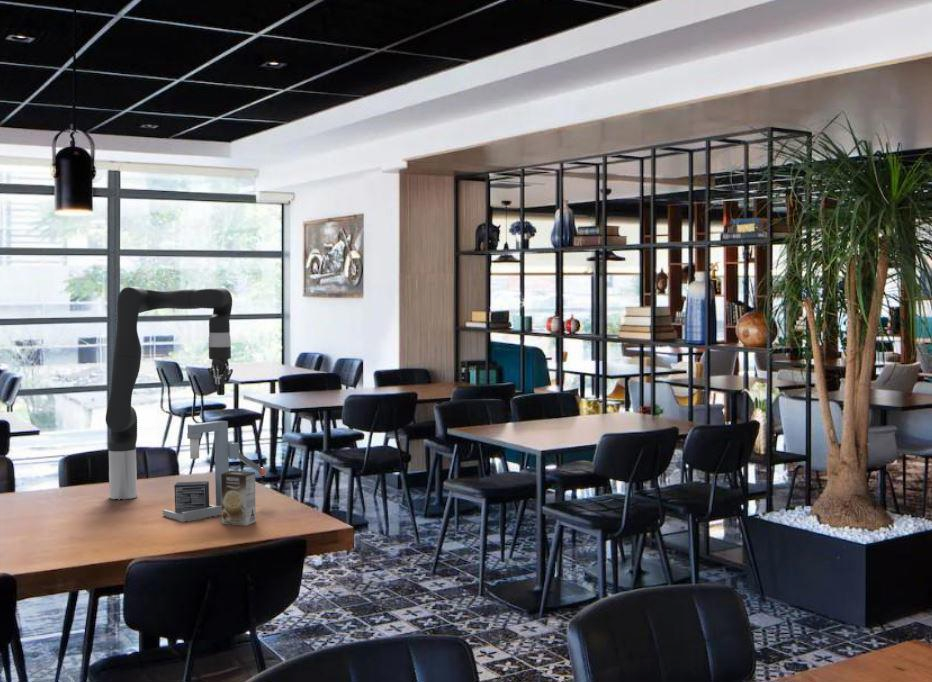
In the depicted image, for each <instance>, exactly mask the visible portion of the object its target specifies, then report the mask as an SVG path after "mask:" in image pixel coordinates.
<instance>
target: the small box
mask: <svg viewBox="0 0 932 682" xmlns="http://www.w3.org/2000/svg"><path fill="white" fill-rule="evenodd" d="M209 482H210V481H209V480H207V481H206V480H205V481H204V480H202V481H181V482H180V481H179V482H176V483H175V484H174V485H173V486H174V487H173V488H174V512H176V513H179V514H182V512H186V511H192V510H197V509H203V508H209V504H210V483H209Z"/></svg>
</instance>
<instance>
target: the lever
mask: <svg viewBox="0 0 932 682" xmlns="http://www.w3.org/2000/svg"><path fill="white" fill-rule="evenodd" d="M228 454H229V446H228ZM237 459H238V460H239V461H241V462H243V463H244V464H245V465H246V466H248V467H249V468H251V469H252V470H254V472H257V474H258V475H259V477H263V476H265V475H267V469H266V468H265V467H261V466H260V465H258V464H257V463H255V461H252V460H251V459H249V458H248V457H247V456H246V455H244V454H243V453H241V452H240V451H239V458H237Z"/></svg>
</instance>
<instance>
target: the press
mask: <svg viewBox="0 0 932 682" xmlns="http://www.w3.org/2000/svg"><path fill="white" fill-rule="evenodd" d="M211 432H213V433H214V435H213V436H214V464H215V465H214V473H215V476H214V477H215V505H213V504H210V503H209V508H203V509H197V510H192V511H186V512H182V514H179V513H176V512H175V511H172V510H169V509H162V516H163V515H164V516H167V517H166V518H168V517H170V518H169V519H171V518H173V519H172V520H174V519H177V520H176V521H178V520H180V521H179V522H181V521H183V522H182V523H186V522H185V521H188V522H192V521H191V520H193V521H197V520H196V519H198V520H202V519H201V518H204V519H207V518H206V517H209V518H212V517H211V516H214V517H218V516H217V515H220V516H222V490H221V474H223V473H225V472H228V471H230V468H229V467H230V463H229V461H230V460H231V459H232V460H233V459H238V458H239V452H240V443H239V442H232V441H229V421H227V420H218V421H216V420H215V421H208V422H199V423H190V424H187V433H186V435H187V436H186V437H187V439H188V440H189V454H190V456H189V458H190V460H195V459H200V439H201V438H202V434H203V433H211ZM228 446H229V454H228ZM164 516H163V517H164Z"/></svg>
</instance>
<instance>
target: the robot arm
mask: <svg viewBox="0 0 932 682" xmlns="http://www.w3.org/2000/svg"><path fill="white" fill-rule="evenodd" d="M116 306H117V310H116V311H117V312H116V313H117V314H116V315H117V316H116V317H117V318H116V319H117V320H116V321H117V322H116V333H115V334H116V335H115V342H114V343H115V344H114V351H113V359H112V370H111V371H112V372H111V384H110V385H111V387H110V394H109V395H110V396H109V399H108V405H107V410H106V413H105V424H106V426H107V427H108V428H109V429H110V438H109V441H108V482H109V484H108V485H109V489H108V491H109V499H110V498H111V500H115V499H118V501H119V500H120V499H123V500H131V499H134V498H137V497H138V477H137V476H138V475H137V474H138V473H137V471H138V470H137V440H138V415H137V412H136V409H135V408H134V406H132V397H133V391H134V388H135V386H136V382H137V380H138V376H139V373H140V370H141V369H140V368H141V360H142V345H141V342H140V338H139V334H138V320H139V319H138V318H139V314H141V313H144V312H149V311H153V310H163V309H172V310H173V309H174V310H197V309H211V310H212V309H213V310H212V315H211V316H210V317H209V320H208V359H209V360H211V367H208V368H207V371H208V374H209V377H210V378H211V380H212V382H213V383H215V385H216V395H217V396H225V394H226V392H225V391H226V390H225V388H226V387H225V385H226V384H227V383H229V381H230V379H231V377H232V374H233V371H234V369H233V368H230V367H229V366H230V365H229V360H230V359H231V358H232V347H231V346H232V342H231V341H232V339H231V333H230V332H231V330H230V329H231V328H230V326H231V325H230V318H231V315H232V314H231V313H232V309H233V296H232V294H231V292H230V290H228V289H226V288H220V287H218V288H214V287H213V288H203V289H199V288H182V289H172V290H154V289H147V288H143V287H138V286H126V287H123V289H121V291H120V292H119V293H118V296H117V304H116Z"/></svg>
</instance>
